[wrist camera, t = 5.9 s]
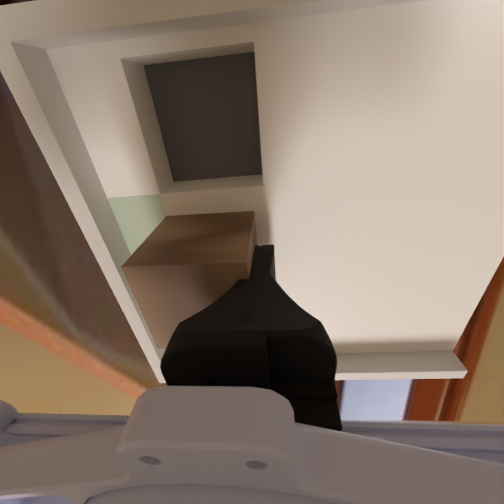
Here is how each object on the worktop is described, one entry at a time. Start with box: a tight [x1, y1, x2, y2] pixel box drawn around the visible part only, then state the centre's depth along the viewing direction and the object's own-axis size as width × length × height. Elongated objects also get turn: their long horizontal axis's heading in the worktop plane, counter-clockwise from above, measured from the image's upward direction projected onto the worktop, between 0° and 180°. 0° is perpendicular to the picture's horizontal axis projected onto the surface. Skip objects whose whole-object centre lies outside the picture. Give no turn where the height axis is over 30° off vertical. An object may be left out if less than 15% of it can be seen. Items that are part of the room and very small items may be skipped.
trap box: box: [0, 0, 504, 383], centre depth 13 cm, size 21×20×4 cm
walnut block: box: [121, 211, 257, 349], centre depth 11 cm, size 4×4×4 cm
